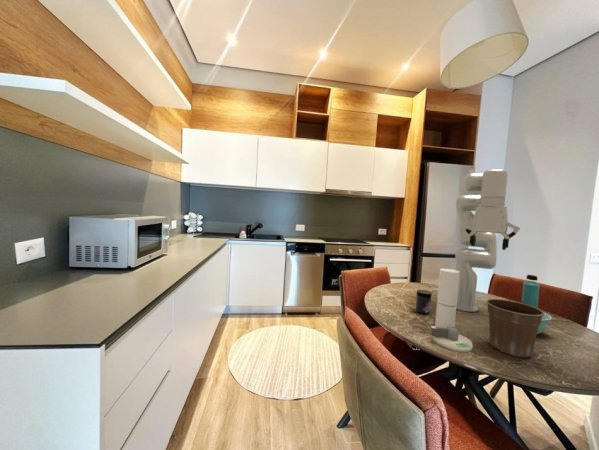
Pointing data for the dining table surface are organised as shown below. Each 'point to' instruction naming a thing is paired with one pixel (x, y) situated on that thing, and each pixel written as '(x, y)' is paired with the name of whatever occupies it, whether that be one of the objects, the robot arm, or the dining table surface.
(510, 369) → the dining table surface
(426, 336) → the dining table surface
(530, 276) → the beverage bottle
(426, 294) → the supplement container
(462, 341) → the dial plate
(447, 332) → the friction peg
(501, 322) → the plant pot
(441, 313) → the cylindrical container
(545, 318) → the bowl
